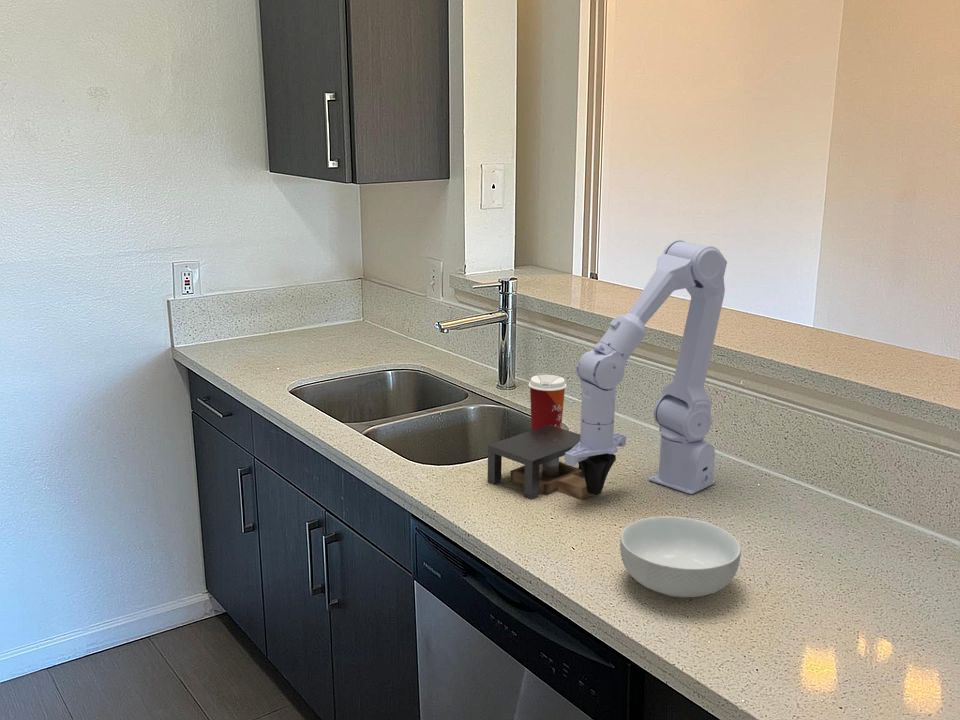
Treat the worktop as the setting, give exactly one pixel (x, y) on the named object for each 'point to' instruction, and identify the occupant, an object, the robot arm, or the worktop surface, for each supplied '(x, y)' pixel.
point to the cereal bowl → (679, 555)
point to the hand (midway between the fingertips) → (594, 493)
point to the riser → (530, 453)
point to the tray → (556, 479)
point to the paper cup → (547, 400)
